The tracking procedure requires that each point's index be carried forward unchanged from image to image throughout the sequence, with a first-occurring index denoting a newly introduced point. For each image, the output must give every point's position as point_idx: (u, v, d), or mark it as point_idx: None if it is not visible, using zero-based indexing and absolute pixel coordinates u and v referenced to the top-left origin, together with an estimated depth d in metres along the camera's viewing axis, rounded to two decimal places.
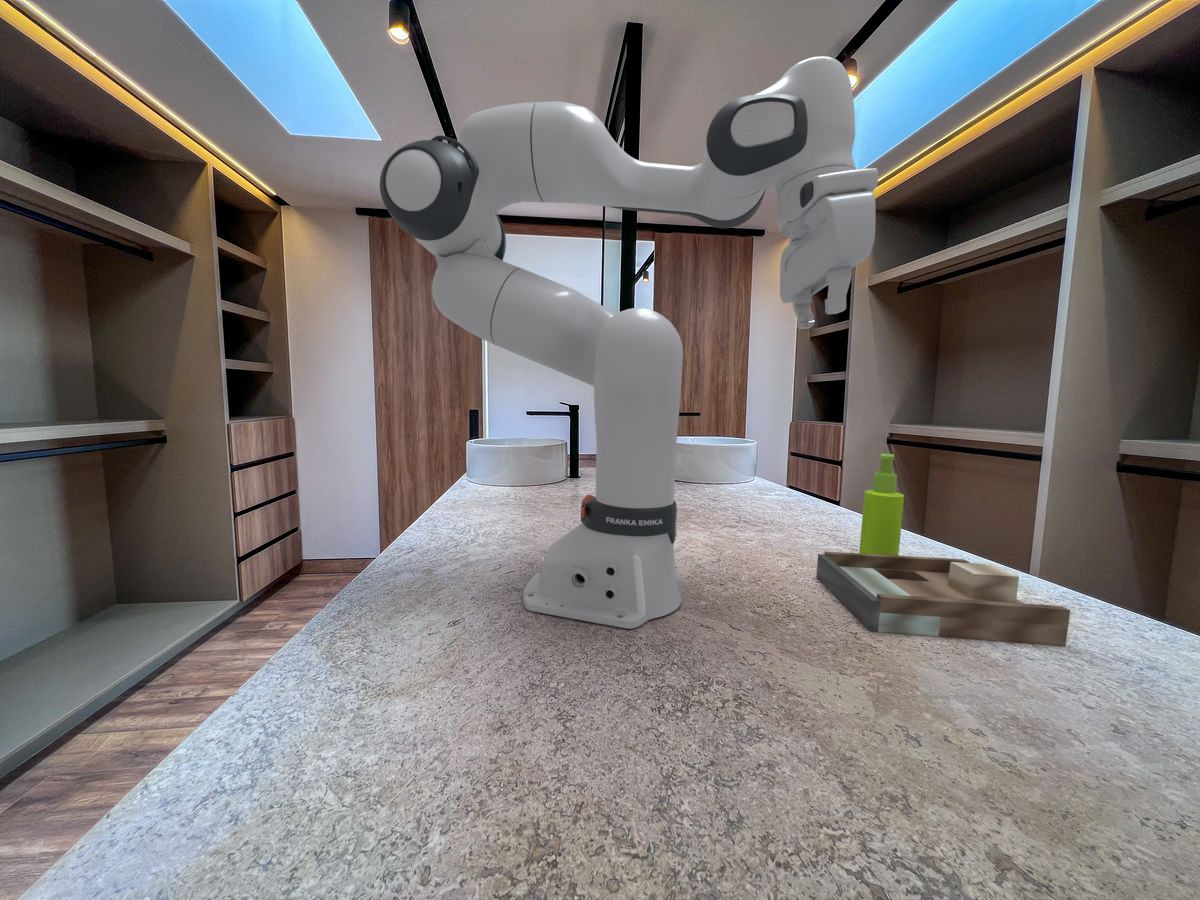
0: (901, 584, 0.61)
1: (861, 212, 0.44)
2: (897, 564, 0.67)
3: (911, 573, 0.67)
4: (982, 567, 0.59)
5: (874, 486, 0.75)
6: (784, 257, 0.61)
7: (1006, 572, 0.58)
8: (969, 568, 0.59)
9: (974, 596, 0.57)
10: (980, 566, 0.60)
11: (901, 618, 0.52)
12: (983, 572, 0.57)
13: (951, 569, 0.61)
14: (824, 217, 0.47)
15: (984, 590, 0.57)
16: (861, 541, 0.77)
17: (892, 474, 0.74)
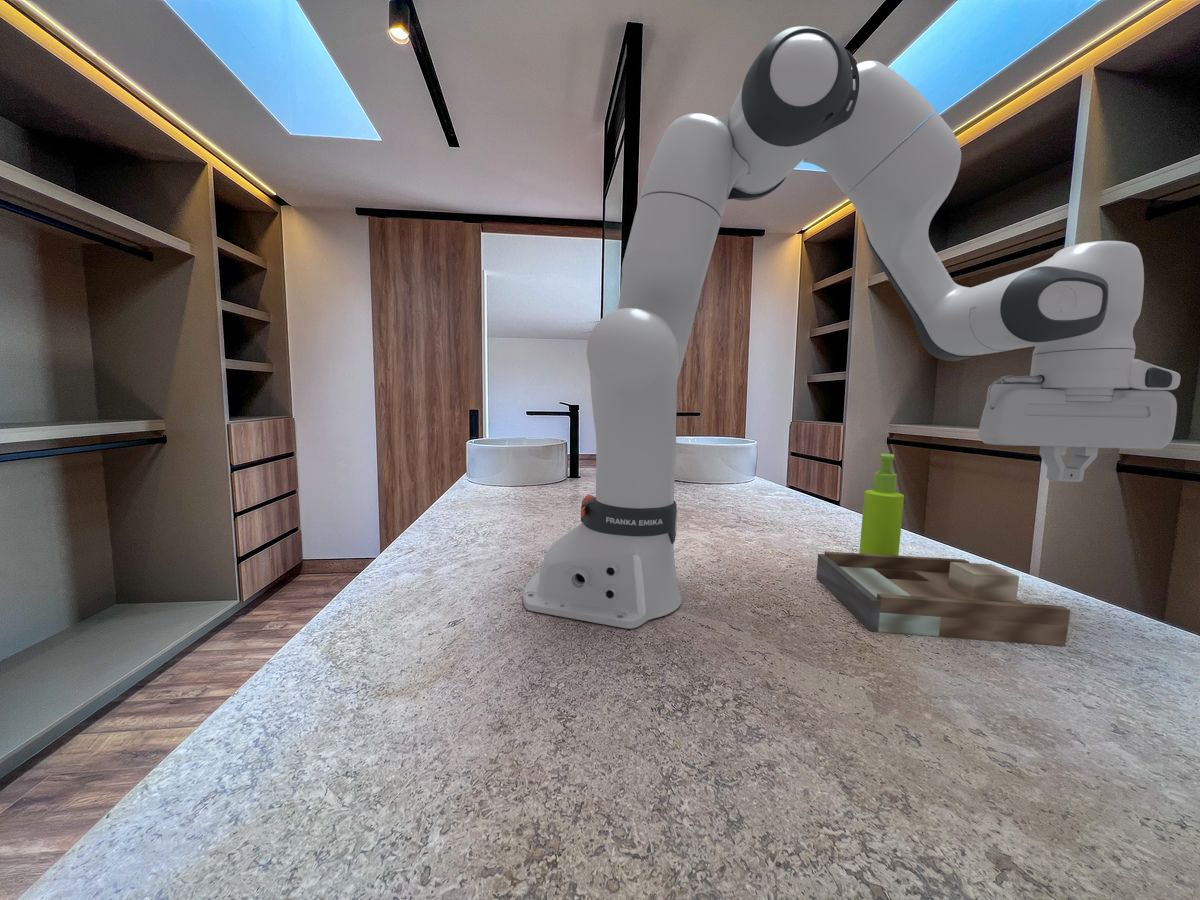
0: (901, 584, 0.61)
1: None
2: (897, 564, 0.67)
3: (911, 573, 0.67)
4: (982, 567, 0.59)
5: (874, 486, 0.75)
6: (1027, 399, 0.54)
7: (1006, 572, 0.58)
8: (969, 568, 0.59)
9: (974, 596, 0.57)
10: (980, 566, 0.60)
11: (901, 618, 0.52)
12: (983, 572, 0.57)
13: (951, 569, 0.61)
14: (1150, 405, 0.53)
15: (984, 590, 0.57)
16: (861, 541, 0.77)
17: (892, 474, 0.74)
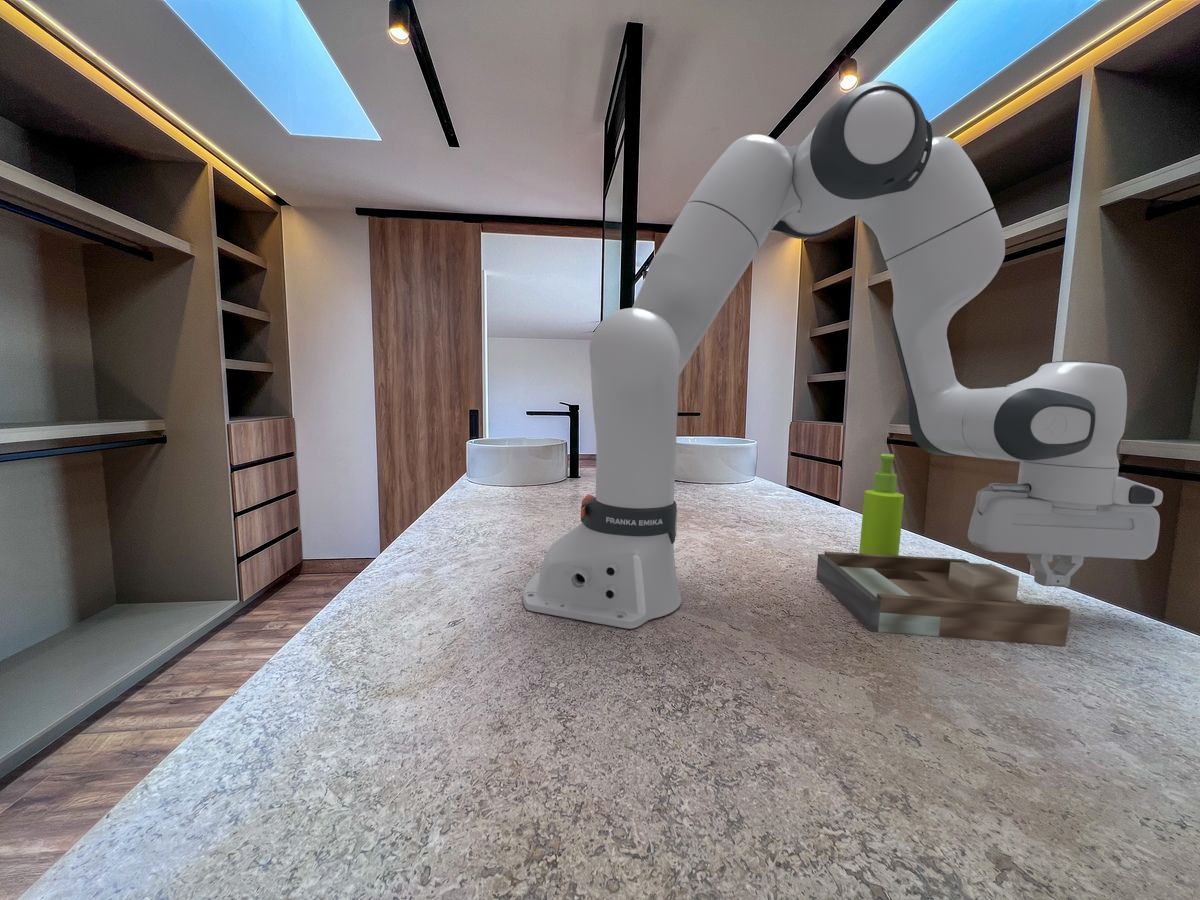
0: (901, 584, 0.61)
1: None
2: (897, 564, 0.67)
3: (911, 573, 0.67)
4: (982, 567, 0.59)
5: (874, 486, 0.75)
6: (1014, 509, 0.56)
7: (1006, 572, 0.58)
8: (969, 568, 0.59)
9: (974, 596, 0.57)
10: (980, 566, 0.60)
11: (901, 618, 0.52)
12: (983, 572, 0.57)
13: (951, 569, 0.61)
14: (1134, 518, 0.54)
15: (984, 590, 0.57)
16: (861, 541, 0.77)
17: (892, 474, 0.74)
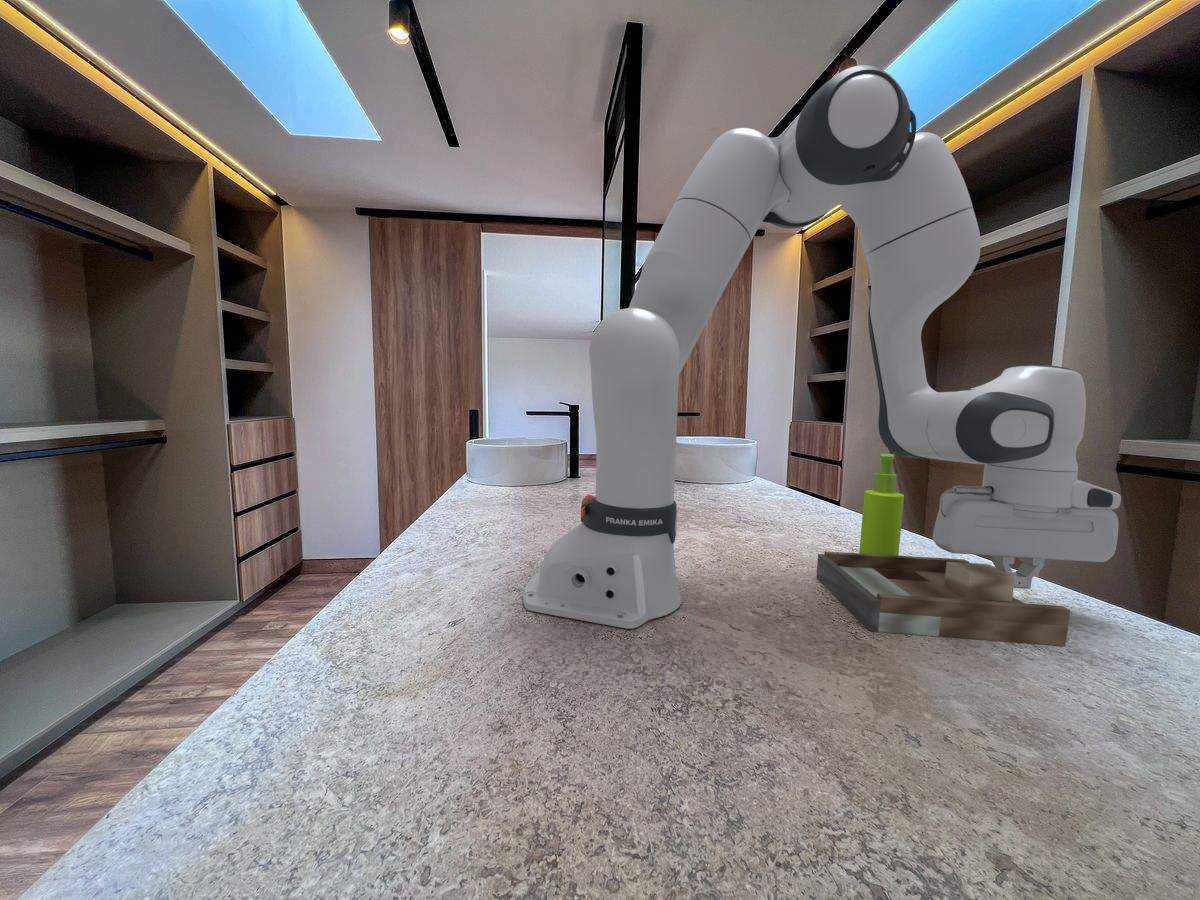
0: (901, 584, 0.61)
1: None
2: (897, 564, 0.67)
3: (911, 573, 0.67)
4: (978, 567, 0.59)
5: (874, 486, 0.75)
6: (976, 512, 0.56)
7: (1002, 572, 0.58)
8: (965, 568, 0.59)
9: (970, 596, 0.57)
10: (976, 566, 0.60)
11: (901, 618, 0.52)
12: (979, 572, 0.57)
13: (947, 569, 0.61)
14: (1093, 521, 0.55)
15: (980, 590, 0.57)
16: (861, 541, 0.77)
17: (892, 474, 0.74)
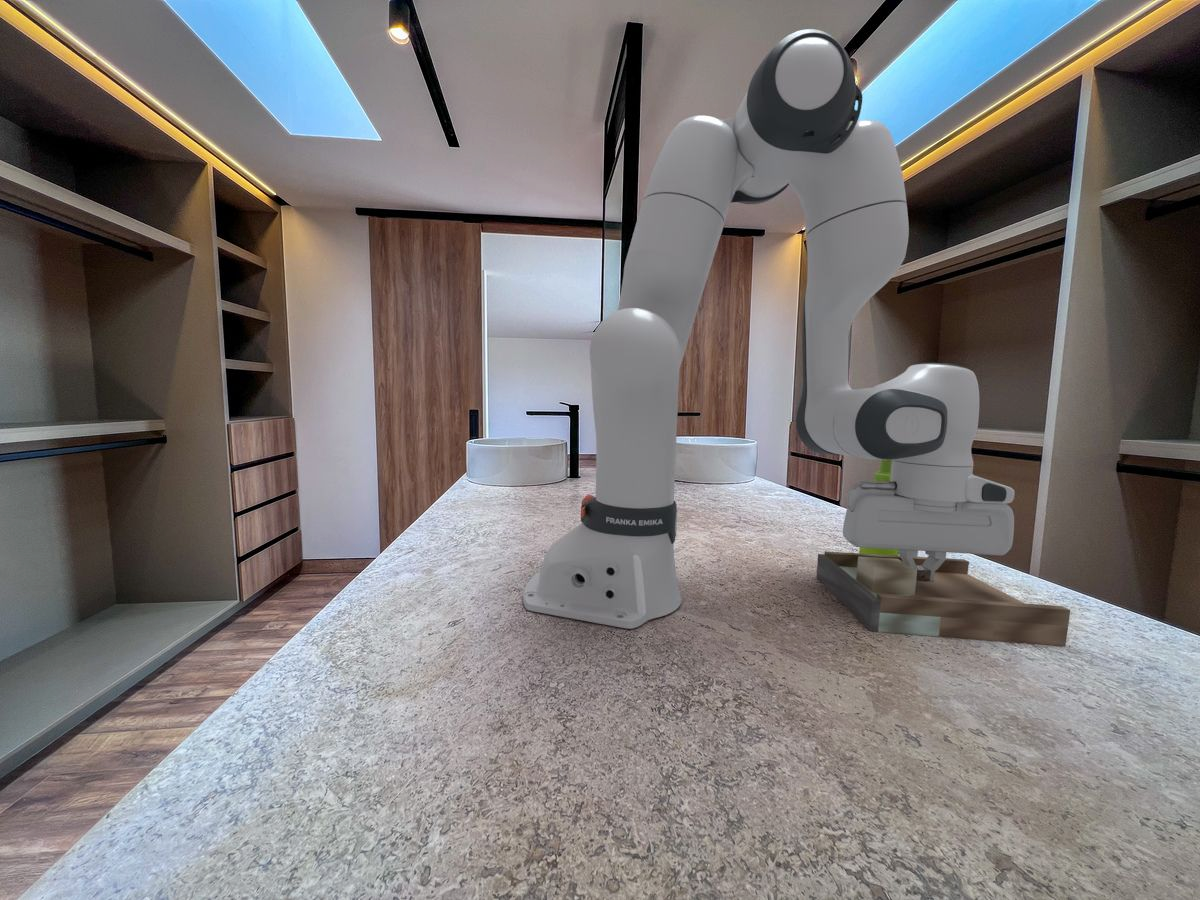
0: None
1: None
2: None
3: None
4: (886, 561, 0.61)
5: None
6: (878, 506, 0.58)
7: (907, 566, 0.59)
8: (873, 562, 0.60)
9: (875, 589, 0.58)
10: (884, 560, 0.61)
11: (901, 618, 0.52)
12: (883, 566, 0.59)
13: (858, 563, 0.62)
14: (990, 515, 0.56)
15: (884, 584, 0.58)
16: None
17: None
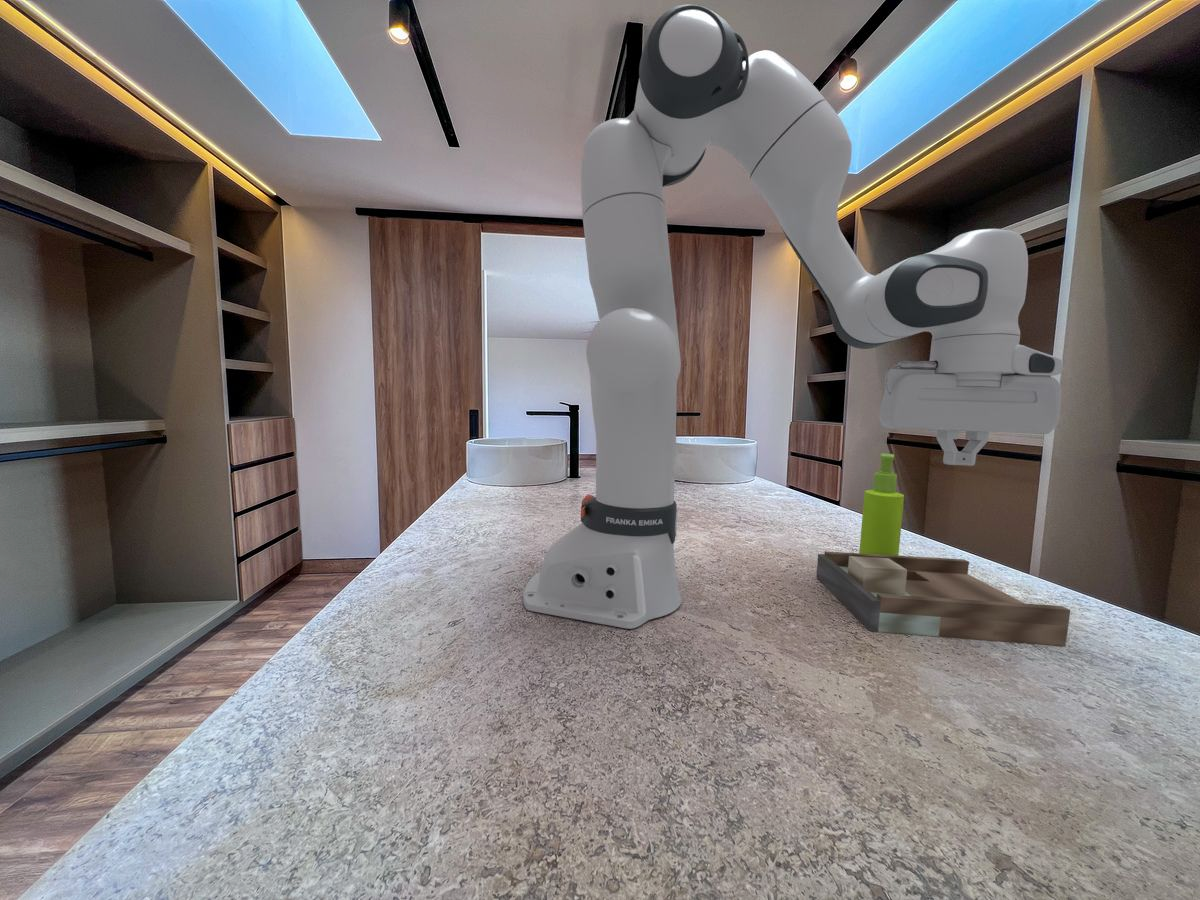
0: None
1: None
2: None
3: (911, 573, 0.67)
4: (877, 561, 0.61)
5: (874, 486, 0.75)
6: (919, 384, 0.56)
7: (897, 565, 0.59)
8: (863, 562, 0.60)
9: None
10: (875, 560, 0.61)
11: (901, 618, 0.52)
12: (874, 566, 0.59)
13: (849, 563, 0.63)
14: (1036, 390, 0.54)
15: (874, 583, 0.58)
16: (861, 541, 0.77)
17: (892, 474, 0.74)
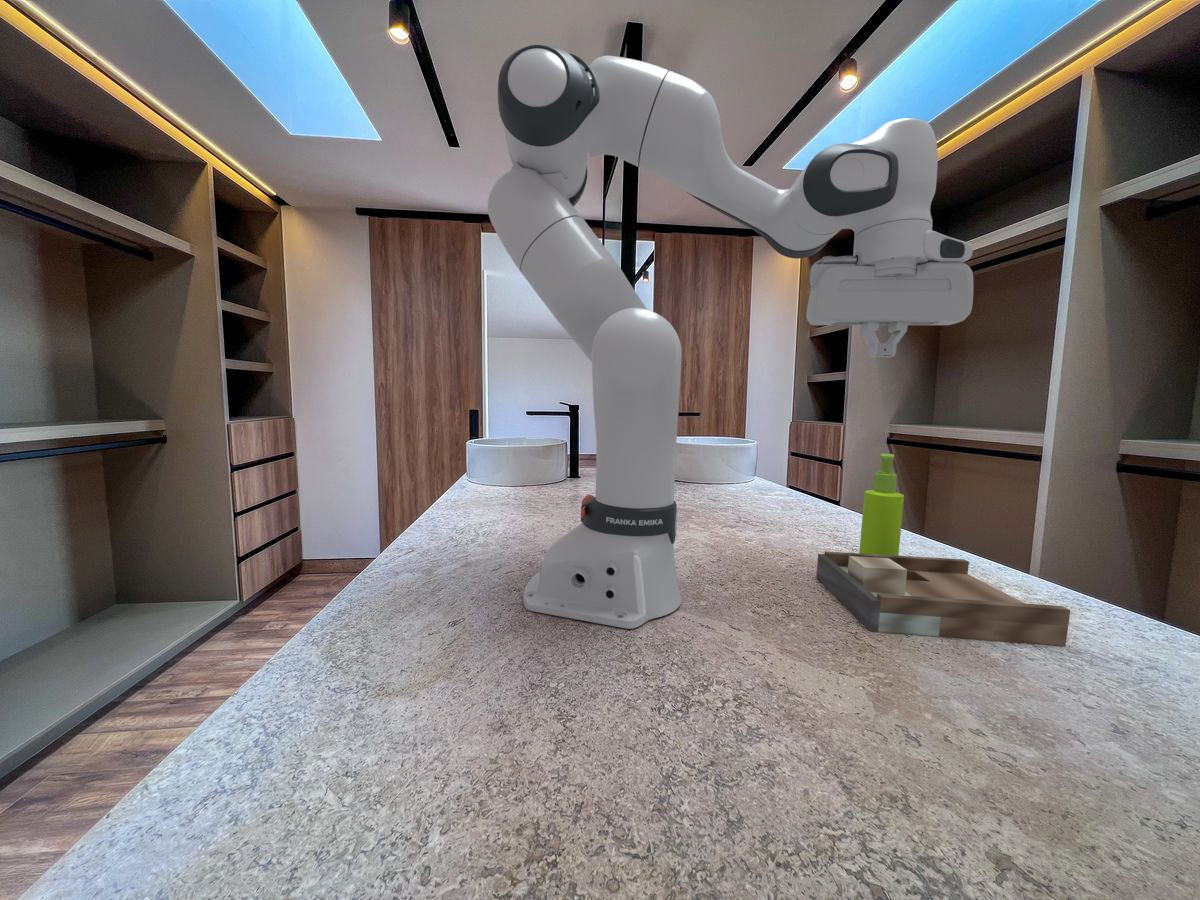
0: None
1: None
2: None
3: (911, 573, 0.67)
4: (877, 561, 0.61)
5: (874, 486, 0.75)
6: (840, 276, 0.58)
7: (897, 565, 0.59)
8: (863, 562, 0.60)
9: None
10: (875, 560, 0.61)
11: (901, 618, 0.52)
12: (874, 566, 0.59)
13: (849, 563, 0.63)
14: (950, 278, 0.56)
15: (874, 583, 0.58)
16: (861, 541, 0.77)
17: (892, 474, 0.74)
